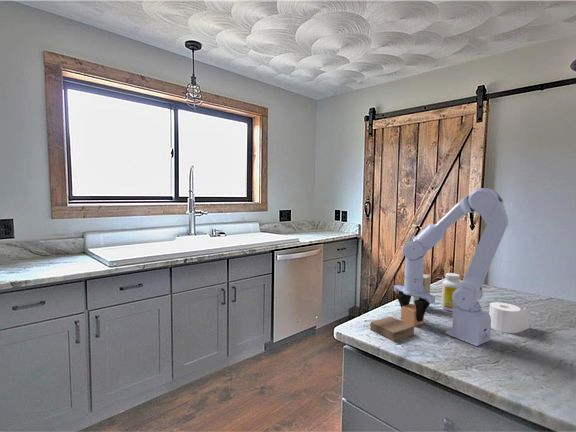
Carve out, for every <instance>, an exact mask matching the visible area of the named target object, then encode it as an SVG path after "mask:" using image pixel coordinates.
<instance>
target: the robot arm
mask: <svg viewBox="0 0 576 432" xmlns="http://www.w3.org/2000/svg"><path fill="white" fill-rule="evenodd" d="M475 212H476V213H477V214H479V215H480V218H482V220H483V221H484V223H485V227H484V230H483V232H482V234H481V238H480V239H479V241H478V244H477V247H476V249H475V251H474V254H473V256H472V259H471V261H470V264H469V266H468V269H467V271H466V274H465V276H464V277H463V279H462V281H460V282H461V285H460V286H459V288H457V289H456V290H455V291H454V292H453V294H452V300H453V302H454V303H453V311H452V327H451V330H448V331H445V334H446V335H448V336H451V337H453V338H455V339H458V340H461V341H463V342H466V343H468V344H471V345H472V346H476V347H478V346H480V345H482V344H485V343H487V342H489V341H492V338H491V332H492V331H491V329H492V328H491V317H490V315H489V312H488V313H487V312H485V311H484V310H483V309H482V306H481V304H480V300H481V299H482V297H483V293H484V292H483V286H484V283H485V279H486V276H487V274H488V272H489V269H490V267H491V265H492V262H493V260H494V257H495V255H496V254H497V251H498V249H499V246H500V244H501V242H502V239H503V237H504V234H505V232H506V230H507V228H508V225H509V218H508V215H507V211H506V208H505V205H504V200H503V198H502V197H501V196H500V194H499V193H498V192H497V191H495V190H494V189H492V188H485V187H484V188H483V187H481V188H476V189H474V190H473V191H471V192H470V193H469V195H466V196H464V197H463V198H462V199H461V200H459V202H457V203H456V204H455V205H454V206H453V207H452V208H451V209H450V210H449V211H448V212H447V213H446V214H445V215H443V216H442V218H440V219H439V221H437V223H429V224H426V225H424V226H423V227H422V230H421V231H420V232H419V233H418V234H417V235H414V236H412V237H411V239H412V241H411V240H410V241H407V242H405V245H403V248H402V253H403V255H404V257H405V258H404V259H405V261H404V283H403V284H404V285H400V284H395V285H393V291H394V292H398V293H396V295H395V296H396V299H397V301H398V304H399V306H400V307H401V306H405V305H409V304H411V303H410V302H411V298H414V297H416V298H419V300H415V301H414V302H415V306H416V319H417V321H418V322H420V321H422V320H423V317H424V318H425V313H426V311H427V310H428V309H429V308H428V306H429V307H430V304H433V303H436V295H432V294H431V293H430V294H428V293H426V292H424V291H423V274H424V272H425V271H424V270H425V269H424V267H425V266H424V265H425V264H424V263H425V261H424V260H425V256H426V255H427V253H428V251H430V250H431V249H432V248H433V247H434V246H435V245H437V244H438V243H439V242H441V240H442V239H444V237H445V235H444V234H445V231H446V230H448V229H449V228H451V226H452V225H454V224H455V223H457V221H459V220H460V219H461V218H462V217H464V216H466V214H470V213H475ZM427 308H428V309H427ZM426 309H427V310H426Z"/></svg>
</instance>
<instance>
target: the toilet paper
mask: <svg viewBox="0 0 576 432" xmlns="http://www.w3.org/2000/svg"><path fill="white" fill-rule="evenodd" d="M488 310H489V312H488V314H489V315H490V317H491V329H492V330H495V331H498V332H501V333H506V334H518V333H520V332H523V331H526V330H528V329H530V324H529V323H530V322H529V319H528V313H527V309H526V307H524V308H523V309H521V307H519V306H517V305H514V304H512V303H511V304H510V303H508V302H507V303H506V302H500V301H499V302H498V301H497V302H496V301H495V302H494V301H493V302H490V303H489V309H488Z"/></svg>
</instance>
